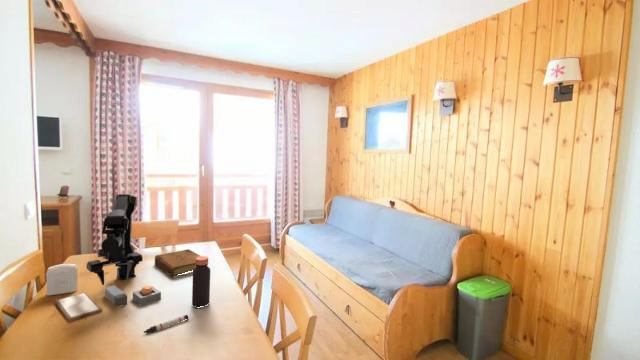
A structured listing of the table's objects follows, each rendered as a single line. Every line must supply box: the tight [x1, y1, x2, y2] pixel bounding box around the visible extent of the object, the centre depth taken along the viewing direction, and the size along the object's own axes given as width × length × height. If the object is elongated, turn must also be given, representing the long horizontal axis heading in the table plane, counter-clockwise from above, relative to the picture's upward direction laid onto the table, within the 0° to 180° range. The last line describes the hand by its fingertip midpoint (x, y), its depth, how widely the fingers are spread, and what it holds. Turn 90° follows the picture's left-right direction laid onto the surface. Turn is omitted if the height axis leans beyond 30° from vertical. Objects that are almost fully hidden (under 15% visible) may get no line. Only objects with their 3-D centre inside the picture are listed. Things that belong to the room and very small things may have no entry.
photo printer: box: [46, 263, 79, 296], centre depth 133 cm, size 10×4×12 cm, turn 123°
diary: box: [154, 248, 201, 278], centre depth 169 cm, size 23×19×6 cm
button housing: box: [132, 286, 162, 306], centre depth 132 cm, size 8×8×3 cm
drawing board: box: [54, 292, 103, 323], centre depth 122 cm, size 10×20×1 cm, turn 52°
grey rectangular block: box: [104, 284, 128, 308], centre depth 129 cm, size 4×14×4 cm, turn 52°
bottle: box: [191, 255, 211, 307], centre depth 129 cm, size 7×7×20 cm
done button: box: [140, 285, 152, 296], centre depth 131 cm, size 4×4×2 cm
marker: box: [143, 314, 190, 334], centre depth 113 cm, size 15×2×2 cm, turn 137°
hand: (115, 281), depth 129 cm, fingers open, 9 cm apart
